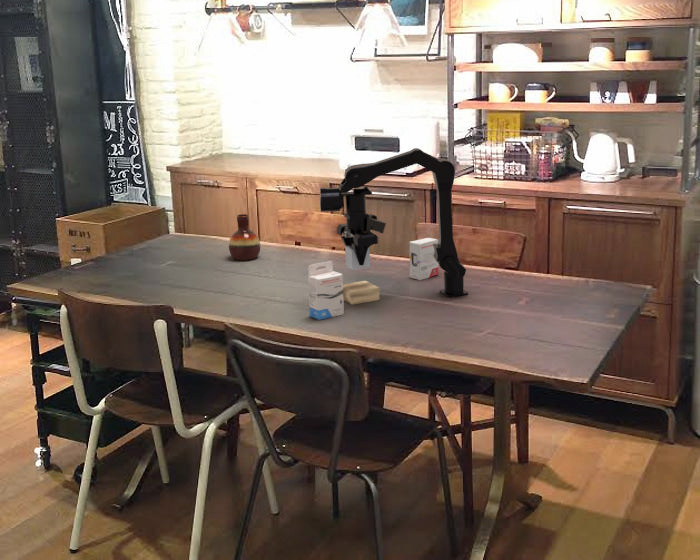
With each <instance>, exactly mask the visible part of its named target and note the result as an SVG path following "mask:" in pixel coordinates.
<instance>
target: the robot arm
mask: <svg viewBox="0 0 700 560" xmlns="http://www.w3.org/2000/svg"><path fill="white" fill-rule="evenodd" d="M415 165H419V166H421V167H422V168H424V169H426V170H428V171H430V172H431V173H432V178H433V182H434V185H435V188H436V197H437V219H438V221H437V222H438V239H437V240H438V244H433V247H434V255H433V257H434V258H435V260H436V261H437V262H438V267H439V268H441V270H443V271H444V273H443V281H444V282H443V289H439V292H440V293H441V294H443V295H445V296H446V297H459V296H465V295H469V292H468V291H466V290H465V289H464V287H465V286H464V283H465V281H464V280H465V279H464V278H465V274H466V272H467V269H466V267H465V266H464V265H463V263H462V262H461V261H460V260H459V257H458V251H457V248H456V244H455V241H454V233H453V232H454V231H453V207H452V203H453V202H452V190H453V186H454V182H455V181H454V180H455V174H456V169H455V166H454V164H453V163H452V162H451V161H449V160H448V159H447V158H444V157H440V158H437V157H435V156H433V155H432V154H429V153H427V152H425V151H423V150H422V149H420V148H417V147H414V148H412V149H411V150H408V151H406V152H402V153H399V154H396V155H393V156H391V157H388V158H384V159H381V160H377V161H375V162H371V163H369V162H368V163H359V164H351V165H350V166H347V167H346V169H345V171H344V178H343V179H342V181H341V182H340V183H339V185H338V187H320V189H319V191H320V193H319V194H320V195H319V196H320V197H319V206H320V207H319V209H320V213H323V212H325V213H326V212H340V211H341V210H342V208H345V212H344V213H343V217H344V218H345V219H346V223H341V224H340V223H339V224H338V226H336V234H337V235H339V236H340V238H341V240H342V242H343V245H344V246H350V245H352V246H353V249H354V252H355V254H356V257H357V260H358V262H359V265H364V261H365V257H366V253H367V250H368V248H370V247H371V246H373V245H377V244H379V236H378V235H377V234H376V233H373V232H372V231H375V232H379V234H384V231H385V229H386V227H387V222H384V221H382V220H380V219H378V216H377V215H375V214H371V213H370V214H369V213H367V203H366V202H367V200H366V195H368V196H370V195H372V194H373V192H372V190H371V189H370V188H369V187H368V185H367V184H368V183H370V182H372V181H374V179H377V178H379V177H380V176H384V175H387V174H389V173H392V172H395V171H398V170H401V169H402V170H403V169H405V168H407V167H410V166H415ZM361 187H362V188H361ZM351 190H352V191H351ZM344 197H345V204H344Z"/></svg>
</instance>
